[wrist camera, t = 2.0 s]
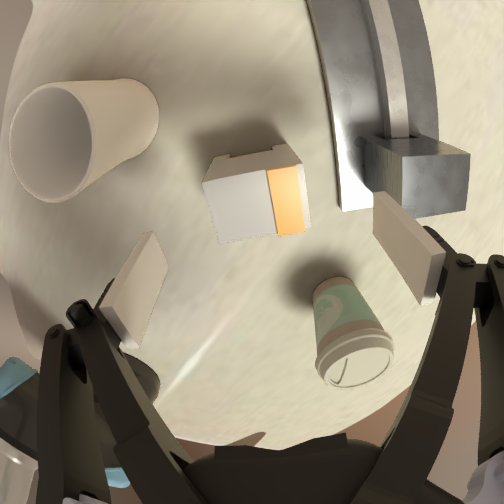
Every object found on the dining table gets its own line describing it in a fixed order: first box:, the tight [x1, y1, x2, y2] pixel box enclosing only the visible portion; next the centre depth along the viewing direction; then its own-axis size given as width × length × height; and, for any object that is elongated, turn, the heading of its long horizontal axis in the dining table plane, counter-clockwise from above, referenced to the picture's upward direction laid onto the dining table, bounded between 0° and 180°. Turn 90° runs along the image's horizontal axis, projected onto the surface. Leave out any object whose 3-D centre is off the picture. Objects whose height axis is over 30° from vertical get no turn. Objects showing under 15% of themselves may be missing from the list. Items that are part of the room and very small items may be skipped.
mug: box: [9, 78, 159, 203], centre depth 17 cm, size 12×8×12 cm
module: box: [202, 143, 311, 244], centre depth 23 cm, size 5×7×8 cm
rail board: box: [306, 0, 470, 219], centre depth 16 cm, size 30×12×9 cm, turn 11°
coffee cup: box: [312, 277, 394, 390], centre depth 30 cm, size 8×8×12 cm
